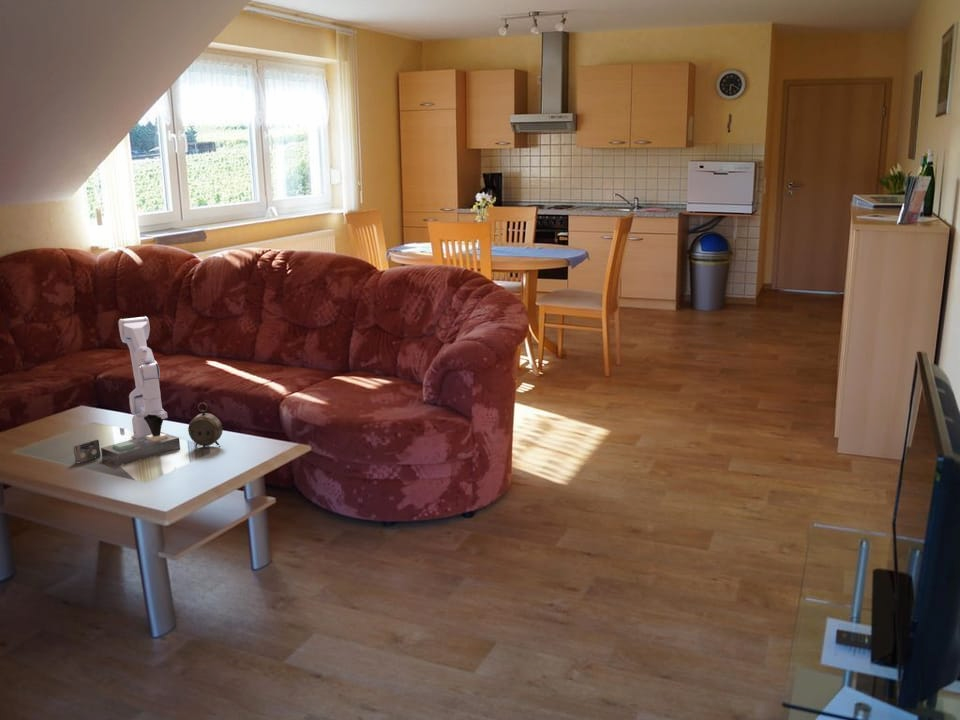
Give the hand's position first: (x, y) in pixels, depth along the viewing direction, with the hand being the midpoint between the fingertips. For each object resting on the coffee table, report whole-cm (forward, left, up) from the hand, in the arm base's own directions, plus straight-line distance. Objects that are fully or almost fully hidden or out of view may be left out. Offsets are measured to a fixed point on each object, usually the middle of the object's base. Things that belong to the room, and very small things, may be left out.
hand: (156, 435), depth 300 cm
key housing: (0, -6, -5) cm, 8 cm away
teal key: (0, -12, -4) cm, 13 cm away
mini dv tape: (-10, -20, -5) cm, 23 cm away
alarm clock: (+13, +11, -5) cm, 18 cm away
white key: (0, 0, -4) cm, 4 cm away
